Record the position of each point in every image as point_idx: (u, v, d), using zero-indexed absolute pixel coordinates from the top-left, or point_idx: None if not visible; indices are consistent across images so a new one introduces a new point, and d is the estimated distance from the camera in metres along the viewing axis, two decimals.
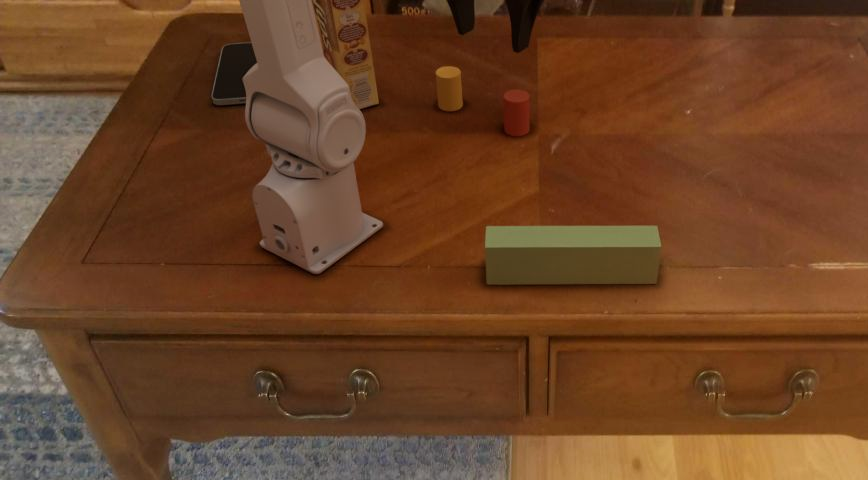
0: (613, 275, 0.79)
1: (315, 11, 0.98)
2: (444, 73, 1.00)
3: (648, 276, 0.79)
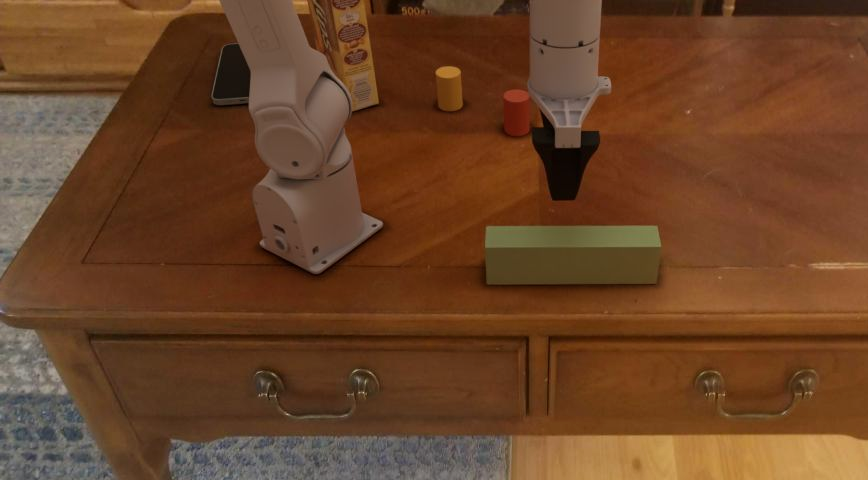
0: (613, 275, 0.79)
1: (315, 11, 0.98)
2: (444, 73, 1.00)
3: (648, 276, 0.79)
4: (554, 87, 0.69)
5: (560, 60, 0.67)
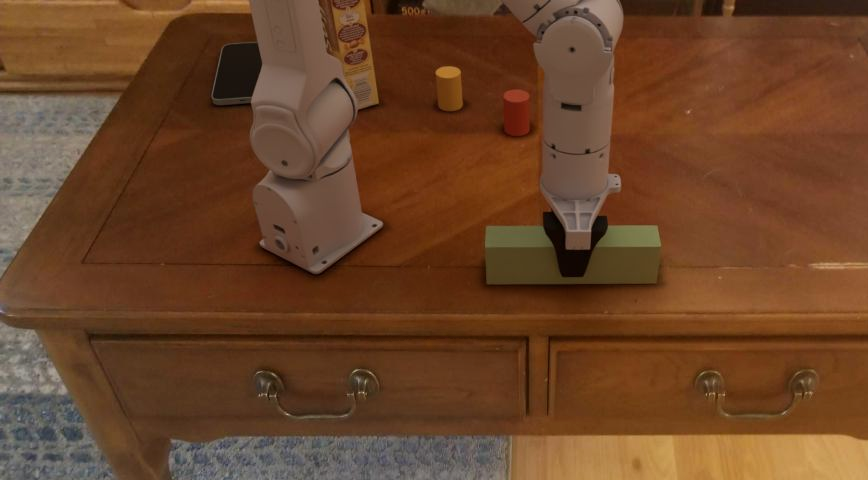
0: (613, 275, 0.79)
1: None
2: (444, 73, 1.00)
3: (648, 276, 0.79)
4: (565, 188, 0.71)
5: (571, 165, 0.69)
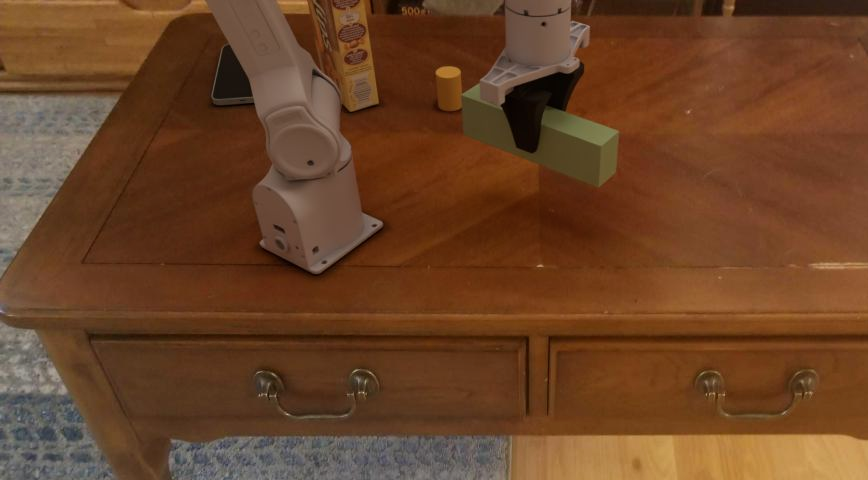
0: (561, 163, 0.79)
1: (315, 11, 0.98)
2: (444, 73, 1.00)
3: (590, 176, 0.78)
4: (511, 49, 0.73)
5: (514, 24, 0.72)
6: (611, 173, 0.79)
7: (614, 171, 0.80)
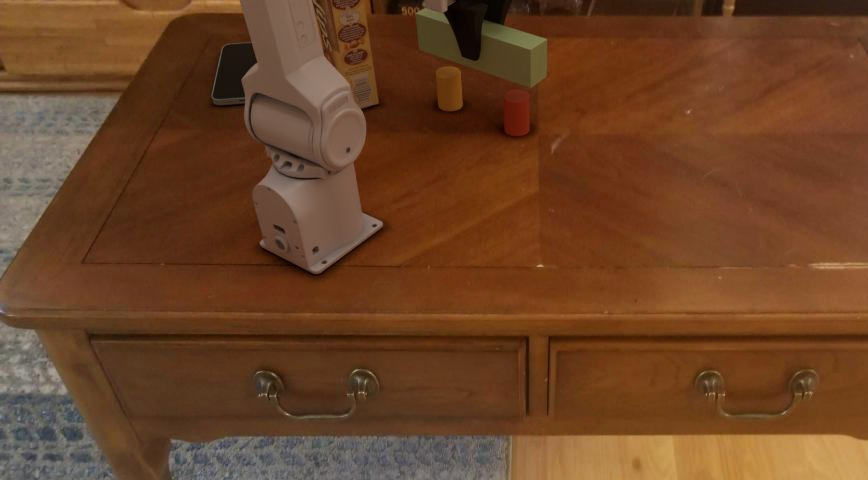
0: (500, 68, 0.94)
1: (315, 11, 0.98)
2: (444, 73, 1.00)
3: (524, 78, 0.92)
4: None
5: None
6: (542, 77, 0.94)
7: (545, 75, 0.94)
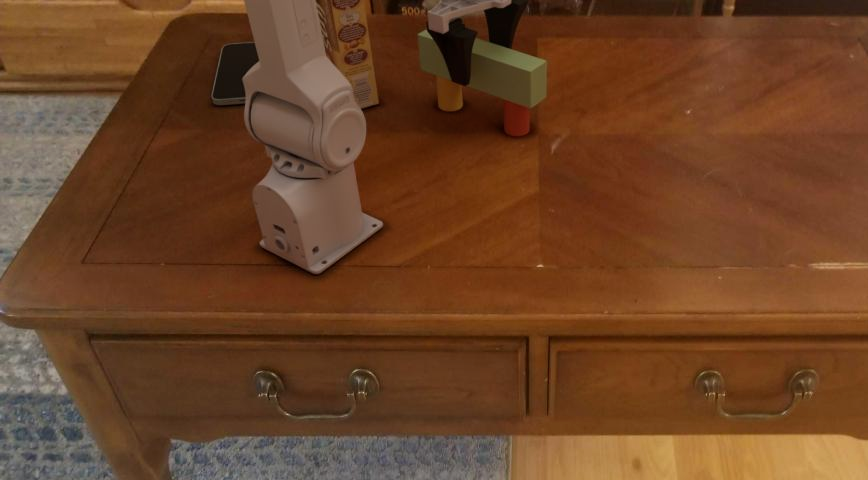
0: (500, 89, 0.95)
1: None
2: None
3: (524, 99, 0.94)
4: None
5: None
6: (542, 97, 0.96)
7: (544, 96, 0.96)
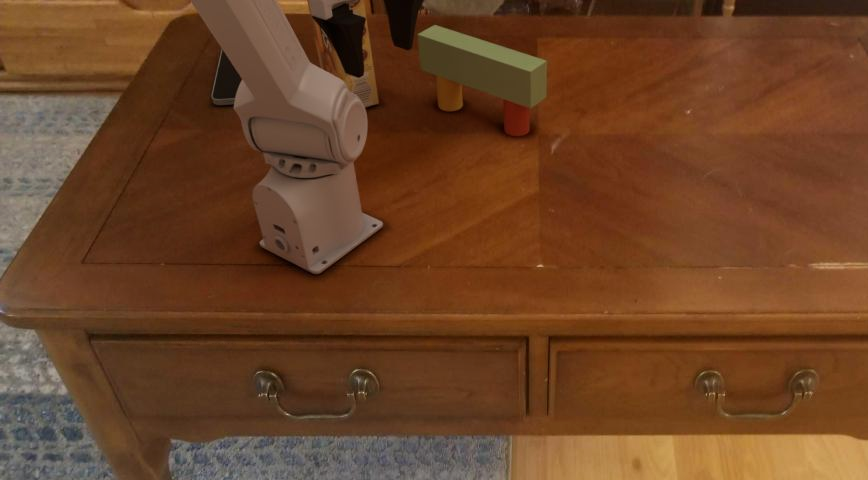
0: (500, 89, 0.95)
1: None
2: None
3: (524, 99, 0.94)
4: None
5: None
6: (542, 97, 0.96)
7: (544, 96, 0.96)
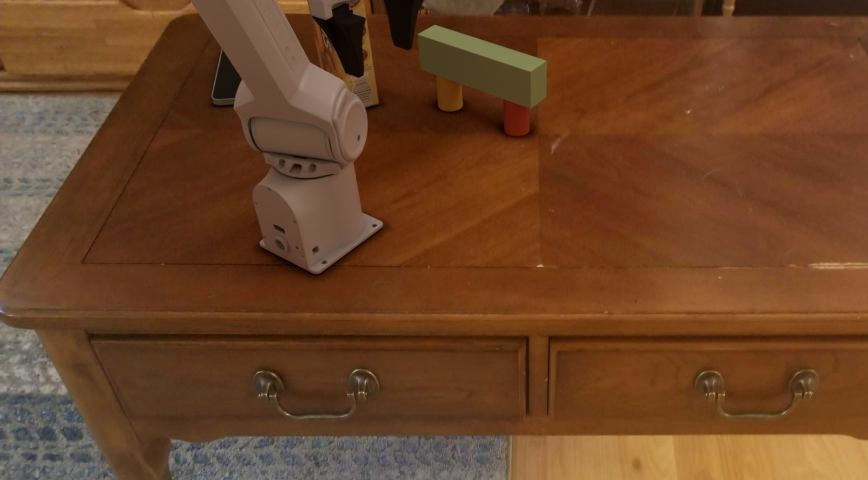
0: (500, 89, 0.95)
1: None
2: None
3: (524, 99, 0.94)
4: None
5: None
6: (542, 97, 0.96)
7: (544, 96, 0.96)
